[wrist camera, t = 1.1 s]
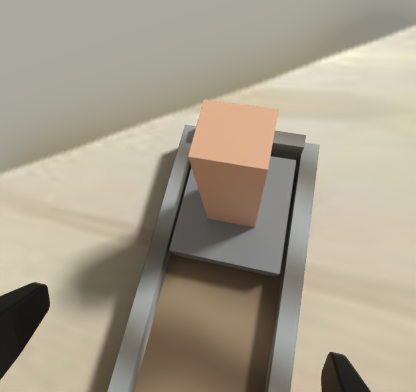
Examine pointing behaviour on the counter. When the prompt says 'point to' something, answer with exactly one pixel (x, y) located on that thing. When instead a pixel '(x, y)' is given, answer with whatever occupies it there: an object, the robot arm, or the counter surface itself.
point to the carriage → (235, 191)
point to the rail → (217, 301)
